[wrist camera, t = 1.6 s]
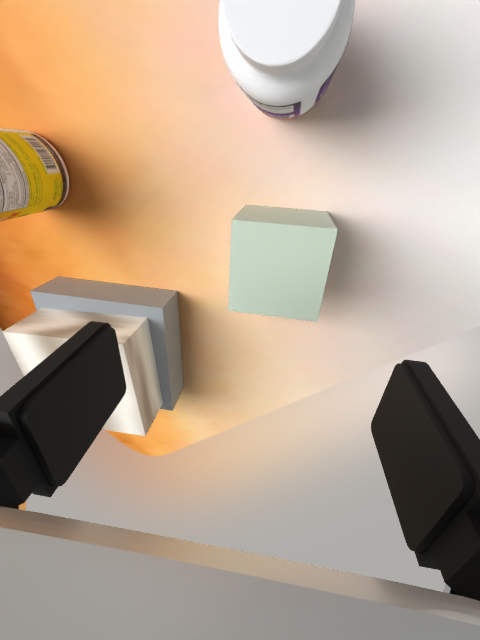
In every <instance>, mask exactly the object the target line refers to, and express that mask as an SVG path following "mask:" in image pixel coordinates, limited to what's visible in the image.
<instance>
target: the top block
mask: <svg viewBox="0 0 480 640" xmlns="http://www.w3.org/2000/svg"><path fill="white" fill-rule="evenodd" d="M90 321H96V322H105V323H109V324H110V325H111V327H112V328H114V329H115V331H116V336H117V341H118V346H119V351H120V356H121V361H122V366H123V371H124V376H125V381H126V392H125V395H124V397H123V398H122V400H121V401H120V403H119V404H118V406H117V407H116V409H115V410H114V411H113V413H112V414H111V416H110V417H109V419H108V420H107V422H106V423H105V425H104V426H103V428H102V429H103V430H109V431H116V432H123V433H129V434H136V435H142V436H146V434H147V432H148V430H149V428H150V426H151V424H152V423H153V421H154V419H155V417H156V415H157V413H158V411H159V409H160V408H161V406H162V404H163V400H162V395H161V389H160V384H159V378H158V373H157V367H156V362H155V356H154V351H153V345H152V340H151V334H150V329H149V323H148V318H147V317H137V316H126V315H115V314H103V313H92V312H81V311H70V310H59V309H48V308H41V309H39V310H38V311H36V312H34V313H33V314H31V315H29V316H28V317H26V318H24V319H23V320H21V321H19V322H18V323H16V324H14V325H13V326H11V327H9V328H8V329H6V330H4V331H3V334H4V336H5V338H6V340H7V342H8V344H9V346H10V348H11V350H12V352H13V354H14V356H15V358H16V360H17V363H18V365H19V367H20V369H21V371H22V373H23V375H24V376H25V375H27V374H28V373H29V372H30V371H31V370H32V369H34V368H35V367H36V366H37V365H38V364H40V363H41V362H42V361H43V360H44V359H46V358H47V357H48V356H49V355H50V354H52V353H53V352H54V351H55V350H56V349H57V348H59V347H60V346H61V345H62V344H63V343H65V342H66V341H67V340H68V339H69V338H71V337H72V336H73V335H74V334H75V333H77V332H78V331H79V330H80V329H81V328H82V327H84V326H85V325H86V324H87V323H89V322H90Z"/></svg>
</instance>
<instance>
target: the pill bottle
mask: <svg viewBox="0 0 480 640" xmlns="http://www.w3.org/2000/svg"><path fill="white" fill-rule="evenodd" d="M354 5H355V0H220V5H219V37H220V43H221V48H222V52H223V56H224V59H225V62H226V64H227V67H228V69H229V71H230V73H231V75H232V76H233V78H234V80H235V81H236V83H237V84H238V86H239V87H240V88H241V89H242V90H243V92H244V93H245V94H246V95H247V97H248V98H249V99H250V100H251V101H252V102H253V104H254V105H255V106H256V107H257V108H258V109H259V110H260V111H261V112H263V113H264V114H266V115H268V116H270V117H272V118H276V119H291V118H295V117H298V116H300V115H302V114H304V113H305V112H307V111H308V110H309V109H311V108H312V107H313V106H314V105H315V104H316V103H317V101H318V100H319V99H320V98H321V97H322V95H323V94H324V92H325V90H326V89H327V87H328V85H329V83H330V80H331V78H332V76H333V74H334V72H335V69H336V67H337V65H338V63H339V61H340V59H341V57H342V55H343V52H344V50H345V48H346V45H347V42H348V38H349V34H350V31H351V27H352V22H353V15H354Z"/></svg>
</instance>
